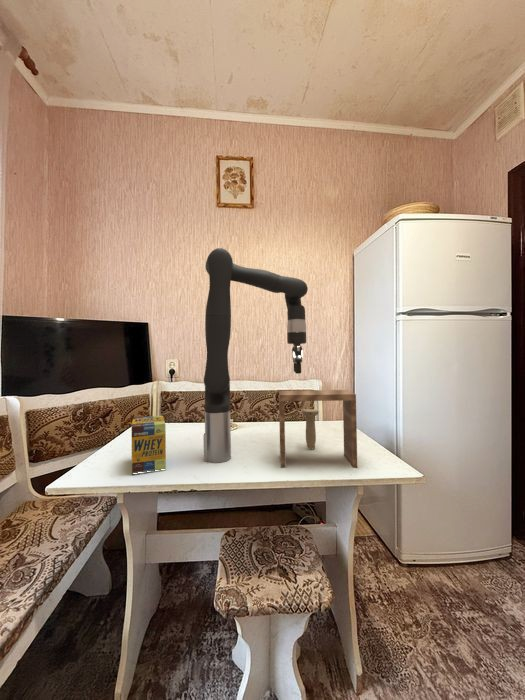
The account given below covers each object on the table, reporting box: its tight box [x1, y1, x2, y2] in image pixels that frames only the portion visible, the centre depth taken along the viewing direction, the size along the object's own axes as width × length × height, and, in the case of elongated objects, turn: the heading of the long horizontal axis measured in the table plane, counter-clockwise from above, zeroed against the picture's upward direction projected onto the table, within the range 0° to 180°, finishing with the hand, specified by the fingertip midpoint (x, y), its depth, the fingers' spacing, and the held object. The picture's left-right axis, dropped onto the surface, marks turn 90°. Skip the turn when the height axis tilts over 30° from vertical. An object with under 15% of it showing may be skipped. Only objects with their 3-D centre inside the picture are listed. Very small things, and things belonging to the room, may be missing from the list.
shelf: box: [278, 389, 358, 469], centre depth 103 cm, size 25×12×24 cm, turn 88°
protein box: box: [130, 415, 167, 474], centre depth 103 cm, size 10×15×16 cm
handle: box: [301, 408, 319, 450], centre depth 117 cm, size 5×6×15 cm
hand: (297, 372), depth 117 cm, fingers open, 8 cm apart
